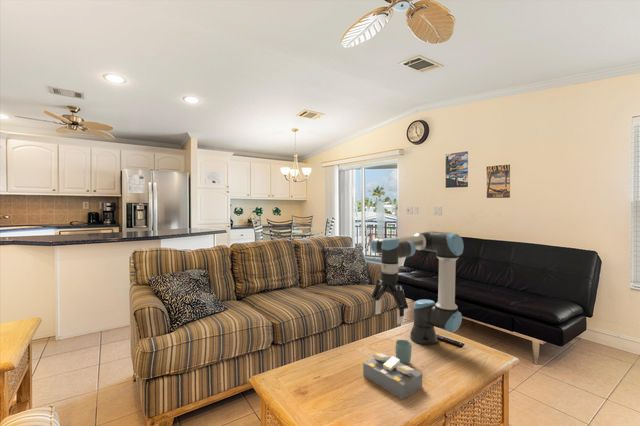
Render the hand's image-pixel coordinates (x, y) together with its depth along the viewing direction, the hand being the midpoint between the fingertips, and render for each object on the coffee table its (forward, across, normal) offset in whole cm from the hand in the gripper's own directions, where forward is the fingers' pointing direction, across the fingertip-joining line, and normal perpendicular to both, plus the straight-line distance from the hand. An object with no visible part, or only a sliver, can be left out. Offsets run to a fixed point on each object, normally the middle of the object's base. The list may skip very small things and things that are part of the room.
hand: (388, 318), depth 140 cm
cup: (+28, -6, +17) cm, 33 cm away
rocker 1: (+21, -4, -1) cm, 21 cm away
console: (+28, +3, 0) cm, 28 cm away
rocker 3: (+21, +10, 0) cm, 23 cm away
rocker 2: (+21, +3, 0) cm, 21 cm away
